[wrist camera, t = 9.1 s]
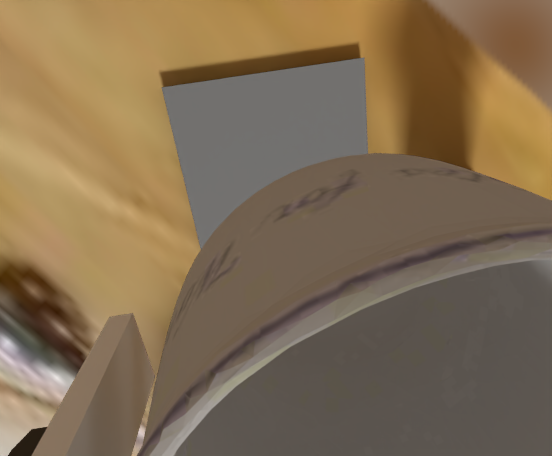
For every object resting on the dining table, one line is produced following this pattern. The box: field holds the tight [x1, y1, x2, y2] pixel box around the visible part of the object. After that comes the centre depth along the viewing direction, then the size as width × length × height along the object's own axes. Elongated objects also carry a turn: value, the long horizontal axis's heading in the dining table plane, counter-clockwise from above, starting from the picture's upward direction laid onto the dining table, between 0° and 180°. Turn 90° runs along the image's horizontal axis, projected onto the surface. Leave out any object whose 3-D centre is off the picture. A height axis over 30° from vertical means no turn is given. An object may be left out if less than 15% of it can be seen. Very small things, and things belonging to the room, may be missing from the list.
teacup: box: [137, 153, 552, 456], centre depth 9 cm, size 14×11×8 cm
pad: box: [162, 58, 368, 249], centre depth 26 cm, size 13×16×1 cm
